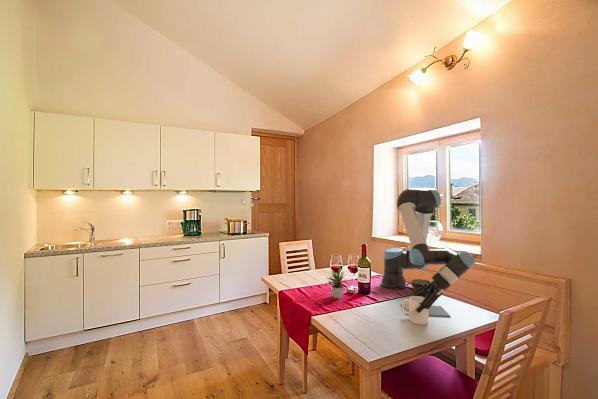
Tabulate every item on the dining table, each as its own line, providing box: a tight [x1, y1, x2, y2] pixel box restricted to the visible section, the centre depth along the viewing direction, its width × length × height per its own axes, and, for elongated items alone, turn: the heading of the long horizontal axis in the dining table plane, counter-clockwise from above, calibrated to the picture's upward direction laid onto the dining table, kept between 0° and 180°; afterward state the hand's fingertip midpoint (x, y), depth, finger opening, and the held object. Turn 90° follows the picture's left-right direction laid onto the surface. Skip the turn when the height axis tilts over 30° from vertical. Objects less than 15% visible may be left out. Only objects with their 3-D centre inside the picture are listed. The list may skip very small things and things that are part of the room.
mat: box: [400, 303, 451, 318], centre depth 141 cm, size 20×12×1 cm, turn 83°
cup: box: [401, 295, 430, 326], centre depth 131 cm, size 8×12×10 cm
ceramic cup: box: [406, 278, 428, 298], centre depth 157 cm, size 13×10×10 cm
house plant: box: [324, 267, 348, 299], centre depth 162 cm, size 14×14×16 cm
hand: (408, 311), depth 131 cm, fingers closed on cup, 9 cm apart
